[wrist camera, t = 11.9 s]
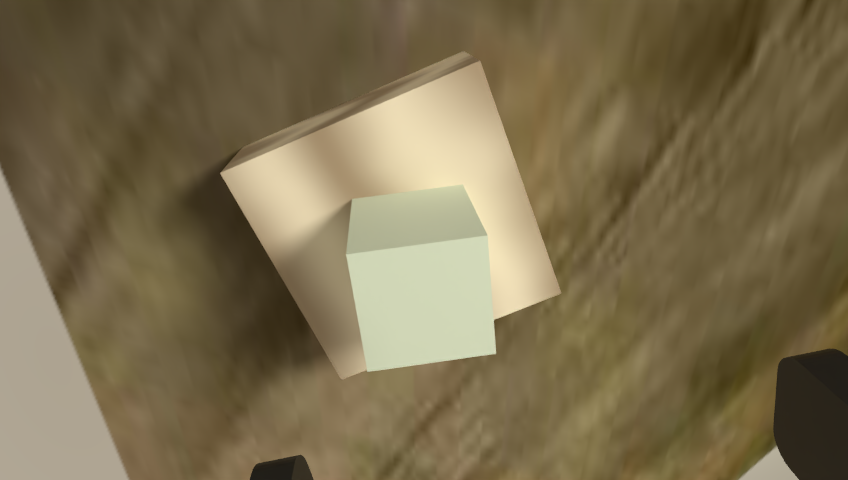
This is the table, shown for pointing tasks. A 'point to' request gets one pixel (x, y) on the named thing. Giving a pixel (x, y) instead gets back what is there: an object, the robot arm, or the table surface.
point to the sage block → (420, 277)
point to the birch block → (387, 192)
